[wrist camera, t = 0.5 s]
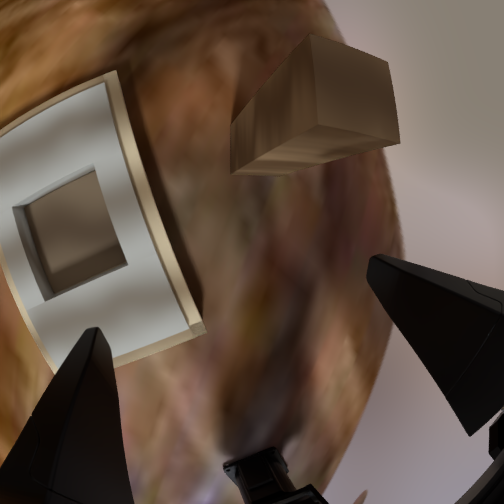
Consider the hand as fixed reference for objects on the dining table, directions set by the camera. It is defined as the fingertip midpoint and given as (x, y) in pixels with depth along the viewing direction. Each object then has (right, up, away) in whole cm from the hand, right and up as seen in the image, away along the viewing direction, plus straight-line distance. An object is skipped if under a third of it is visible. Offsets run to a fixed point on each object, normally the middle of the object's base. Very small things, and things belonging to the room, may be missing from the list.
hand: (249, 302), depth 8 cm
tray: (-13, +3, +10) cm, 16 cm away
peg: (0, +9, +13) cm, 16 cm away
